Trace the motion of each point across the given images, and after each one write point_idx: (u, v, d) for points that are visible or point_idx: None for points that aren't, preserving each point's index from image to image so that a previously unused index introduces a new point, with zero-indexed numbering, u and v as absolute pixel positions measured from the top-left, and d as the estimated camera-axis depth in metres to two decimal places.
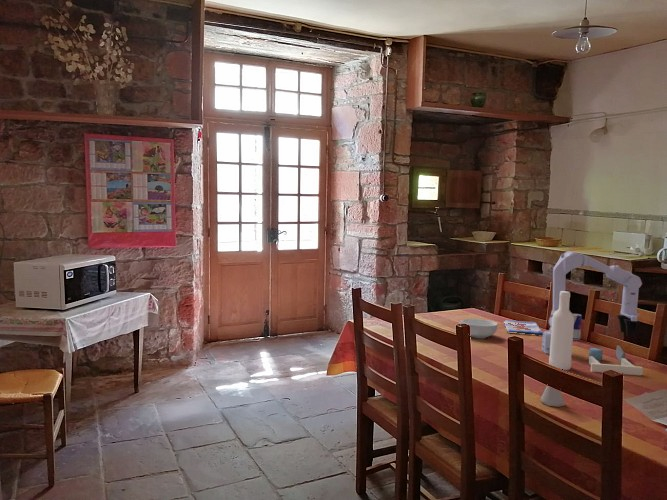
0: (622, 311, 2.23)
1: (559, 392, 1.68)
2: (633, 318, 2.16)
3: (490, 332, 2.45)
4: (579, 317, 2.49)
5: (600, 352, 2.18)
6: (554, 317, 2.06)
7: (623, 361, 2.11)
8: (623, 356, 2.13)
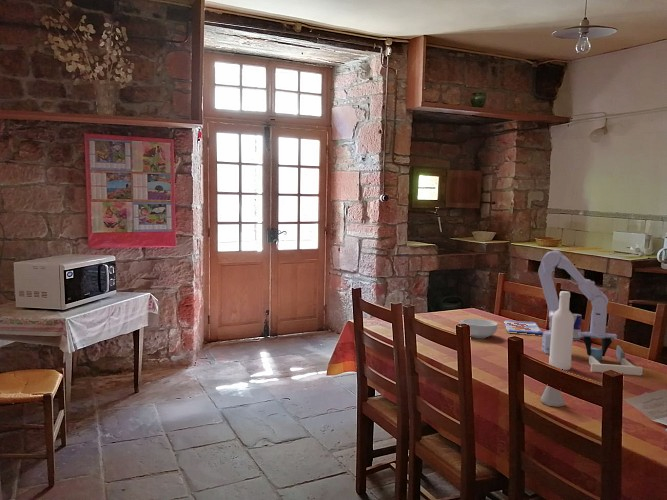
0: None
1: (559, 392, 1.68)
2: (578, 333, 2.22)
3: (490, 332, 2.45)
4: (579, 317, 2.49)
5: (600, 352, 2.18)
6: (554, 317, 2.06)
7: (623, 361, 2.11)
8: (623, 356, 2.13)
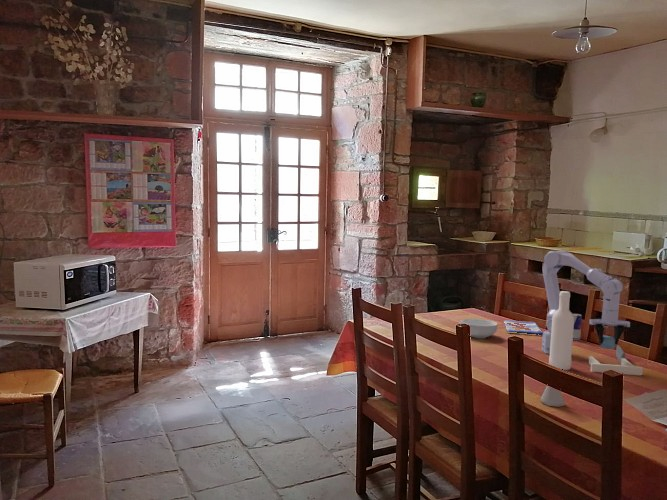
0: None
1: (559, 392, 1.68)
2: (589, 321, 2.12)
3: (490, 332, 2.45)
4: (579, 317, 2.49)
5: (613, 340, 2.09)
6: (554, 317, 2.06)
7: (623, 361, 2.11)
8: (623, 356, 2.13)
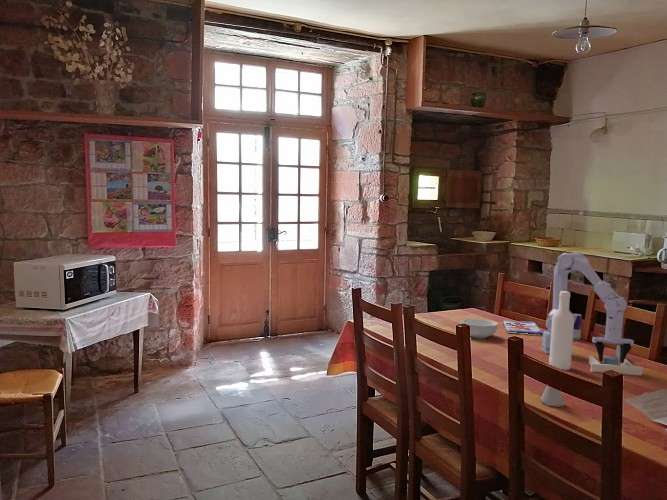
0: None
1: (559, 392, 1.68)
2: (592, 339, 2.10)
3: (490, 332, 2.45)
4: (579, 317, 2.49)
5: (616, 361, 2.06)
6: (554, 317, 2.06)
7: None
8: None
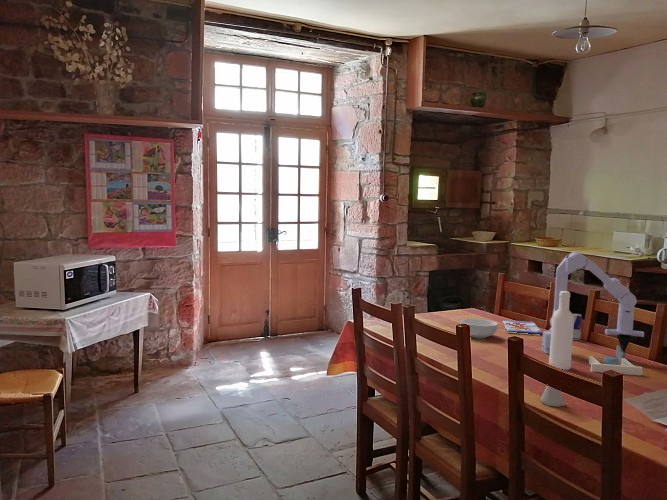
0: None
1: (559, 392, 1.68)
2: (605, 331, 2.22)
3: (490, 332, 2.45)
4: (579, 317, 2.49)
5: (616, 361, 2.06)
6: (554, 317, 2.06)
7: (623, 361, 2.11)
8: (623, 356, 2.13)
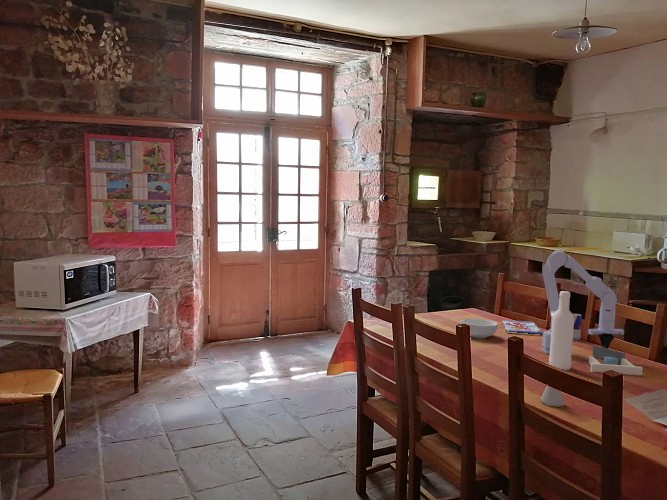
0: None
1: (559, 392, 1.68)
2: (589, 331, 2.21)
3: (490, 332, 2.45)
4: (579, 317, 2.49)
5: (616, 361, 2.06)
6: (554, 317, 2.06)
7: (623, 361, 2.11)
8: (624, 356, 2.13)
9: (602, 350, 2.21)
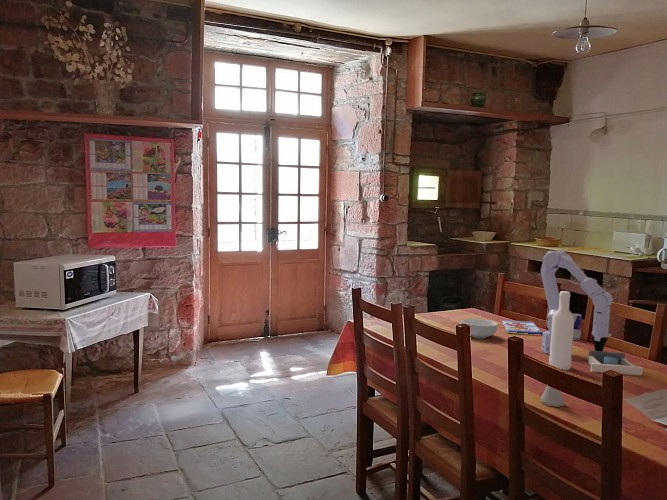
0: None
1: (559, 392, 1.68)
2: (596, 338, 2.10)
3: (490, 332, 2.45)
4: (579, 317, 2.49)
5: (616, 361, 2.06)
6: (554, 317, 2.06)
7: (623, 361, 2.11)
8: None
9: (600, 354, 2.15)
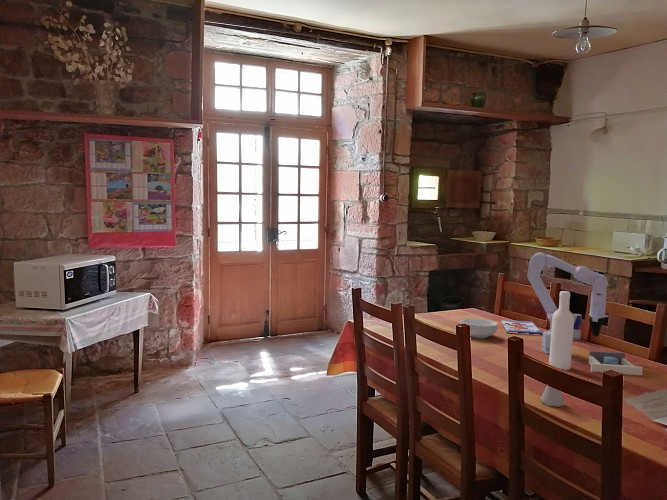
0: (590, 312, 2.22)
1: (559, 392, 1.68)
2: (593, 318, 2.16)
3: (490, 332, 2.45)
4: (579, 317, 2.49)
5: (616, 361, 2.06)
6: (554, 317, 2.06)
7: (623, 361, 2.11)
8: None
9: (601, 354, 2.14)
